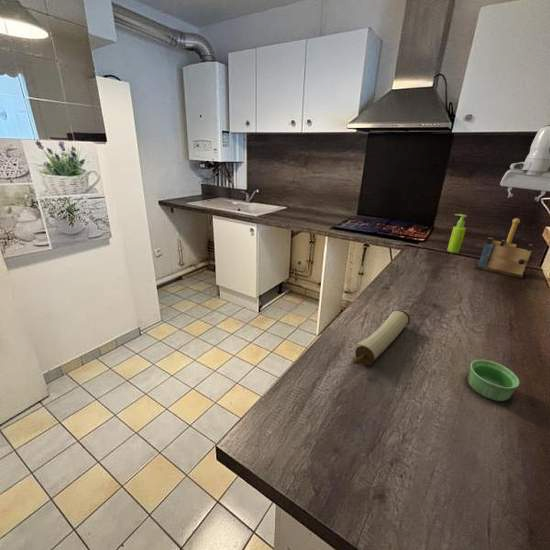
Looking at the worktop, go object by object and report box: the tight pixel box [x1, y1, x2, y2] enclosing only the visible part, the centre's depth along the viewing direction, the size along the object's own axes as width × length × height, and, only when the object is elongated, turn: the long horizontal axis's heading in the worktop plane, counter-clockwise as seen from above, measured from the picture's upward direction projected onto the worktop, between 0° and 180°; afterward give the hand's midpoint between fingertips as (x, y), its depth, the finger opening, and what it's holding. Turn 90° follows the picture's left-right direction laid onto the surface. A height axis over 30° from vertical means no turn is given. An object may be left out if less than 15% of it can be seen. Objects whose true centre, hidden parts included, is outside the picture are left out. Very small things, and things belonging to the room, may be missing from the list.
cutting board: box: [475, 236, 534, 280], centre depth 130 cm, size 17×6×14 cm, turn 51°
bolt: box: [492, 217, 521, 248], centre depth 127 cm, size 10×3×12 cm, turn 51°
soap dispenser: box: [446, 213, 468, 254], centre depth 156 cm, size 6×7×20 cm
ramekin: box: [467, 359, 521, 402], centre depth 65 cm, size 9×9×4 cm
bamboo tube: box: [353, 310, 411, 366], centre depth 80 cm, size 32×6×5 cm, turn 137°
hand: (522, 199), depth 130 cm, fingers open, 8 cm apart
